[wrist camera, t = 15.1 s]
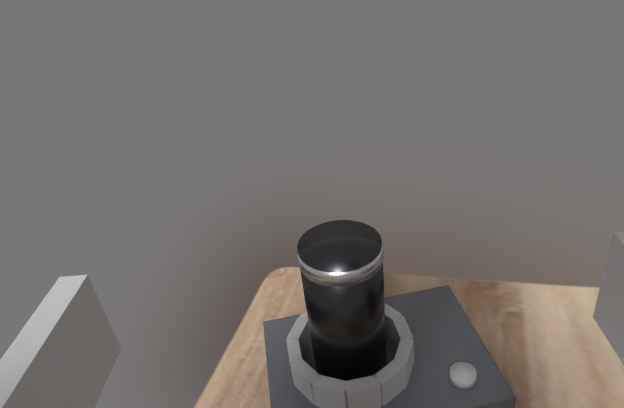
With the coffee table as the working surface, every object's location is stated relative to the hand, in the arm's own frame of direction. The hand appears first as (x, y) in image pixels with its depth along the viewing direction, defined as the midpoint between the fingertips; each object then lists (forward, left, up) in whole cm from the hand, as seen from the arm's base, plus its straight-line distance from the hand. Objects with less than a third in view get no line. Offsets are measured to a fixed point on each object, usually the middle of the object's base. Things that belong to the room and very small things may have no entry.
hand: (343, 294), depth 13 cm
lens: (-2, -19, -24) cm, 30 cm away
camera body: (-4, -19, -30) cm, 36 cm away
